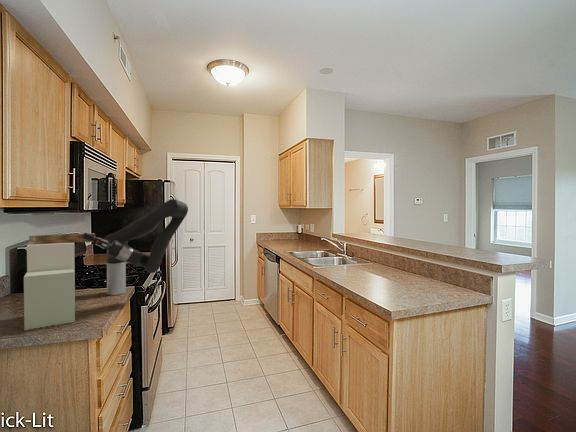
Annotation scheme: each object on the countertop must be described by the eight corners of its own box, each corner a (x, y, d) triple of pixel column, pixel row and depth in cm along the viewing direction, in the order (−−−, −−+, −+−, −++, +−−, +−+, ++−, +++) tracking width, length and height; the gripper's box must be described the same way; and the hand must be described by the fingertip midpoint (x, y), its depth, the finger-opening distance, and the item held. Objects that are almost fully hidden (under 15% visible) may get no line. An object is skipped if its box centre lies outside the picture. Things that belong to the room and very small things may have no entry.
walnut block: (94, 240, 144) (94, 233, 144) (95, 241, 141) (95, 233, 141) (30, 243, 130) (30, 235, 130) (29, 244, 128) (29, 236, 127)
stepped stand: (30, 315, 134) (29, 243, 133) (74, 308, 143) (74, 241, 142) (24, 330, 117) (23, 248, 116) (74, 321, 127) (74, 245, 126)
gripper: (122, 242, 155) (87, 226, 147) (126, 245, 144) (88, 228, 135) (114, 255, 153) (78, 240, 145) (117, 259, 142) (78, 243, 133)
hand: (83, 234), depth 140 cm, fingers closed on walnut block, 3 cm apart
